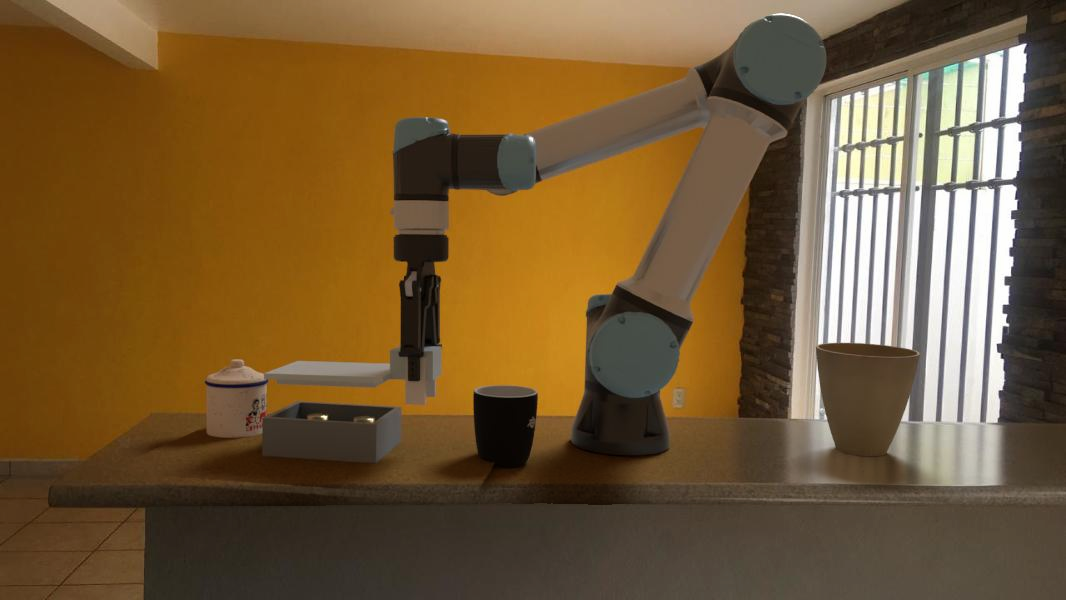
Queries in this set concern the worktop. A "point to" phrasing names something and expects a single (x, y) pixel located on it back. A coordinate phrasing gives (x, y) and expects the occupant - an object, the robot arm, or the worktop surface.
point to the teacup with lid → (236, 401)
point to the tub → (331, 432)
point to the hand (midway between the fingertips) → (421, 399)
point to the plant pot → (865, 393)
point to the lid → (353, 371)
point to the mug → (504, 423)
